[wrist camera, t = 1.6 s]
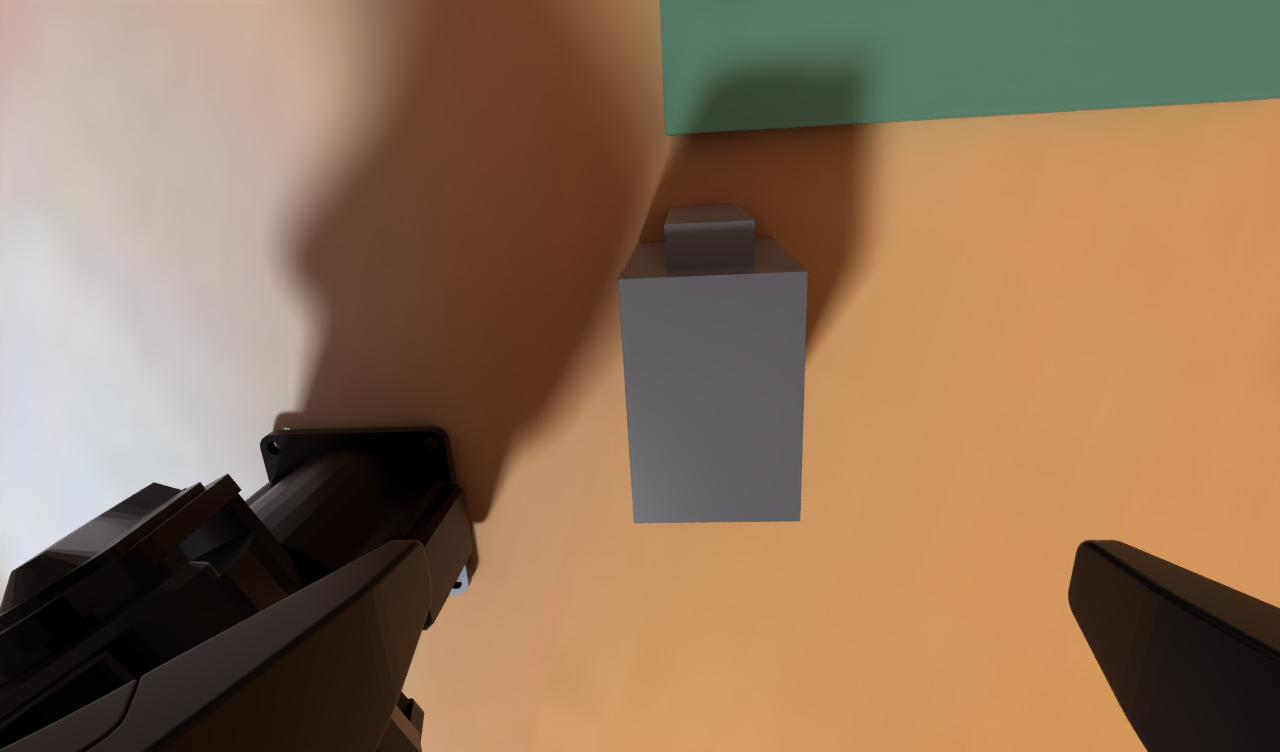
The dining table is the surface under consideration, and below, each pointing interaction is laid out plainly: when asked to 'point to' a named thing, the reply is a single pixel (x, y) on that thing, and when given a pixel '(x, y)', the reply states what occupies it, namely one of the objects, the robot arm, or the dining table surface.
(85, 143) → the dining table surface
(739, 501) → the plug
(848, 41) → the board
